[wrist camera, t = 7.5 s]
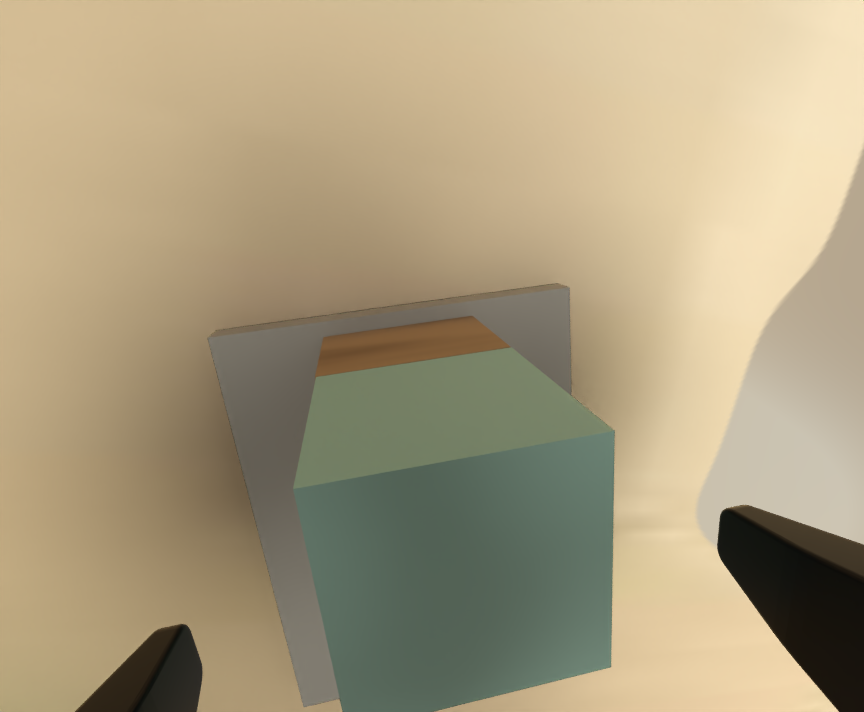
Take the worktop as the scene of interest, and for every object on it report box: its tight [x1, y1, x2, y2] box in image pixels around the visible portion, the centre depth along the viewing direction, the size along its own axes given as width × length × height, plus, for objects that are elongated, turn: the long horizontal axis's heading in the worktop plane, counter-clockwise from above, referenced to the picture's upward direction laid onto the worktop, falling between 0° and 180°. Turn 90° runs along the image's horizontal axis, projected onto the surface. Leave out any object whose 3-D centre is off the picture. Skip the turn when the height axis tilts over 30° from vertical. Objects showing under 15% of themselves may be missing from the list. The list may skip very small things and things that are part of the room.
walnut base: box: [315, 316, 510, 380], centre depth 14 cm, size 5×5×4 cm
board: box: [208, 283, 571, 707], centre depth 18 cm, size 16×12×1 cm
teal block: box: [293, 347, 615, 712], centre depth 10 cm, size 5×5×5 cm
